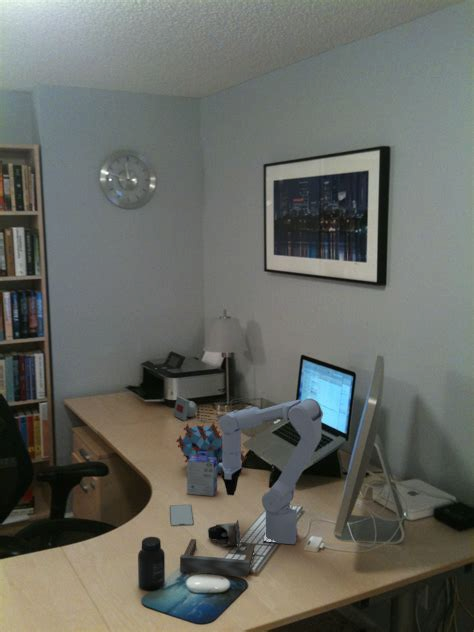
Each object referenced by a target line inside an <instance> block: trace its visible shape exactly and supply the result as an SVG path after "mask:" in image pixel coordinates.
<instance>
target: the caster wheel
mask: <svg viewBox="0 0 474 632" xmlns="http://www.w3.org/2000/svg"><path fill="white" fill-rule="evenodd" d="M207 534H208V539H210V540H215V541H216V542H217V544H218V546H219V547H231V546H237V548H239V547H240V544H241V543H240V541H241V531H240V524H239V519H237V520H236V522H230V523H219V524H215V525H213V526H211V527H209V528H208V529H207ZM241 542H242V541H241Z"/></svg>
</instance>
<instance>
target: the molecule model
mask: <svg viewBox="0 0 474 632" xmlns="http://www.w3.org/2000/svg"><path fill="white" fill-rule="evenodd" d="M185 426H186V427H183V431H185V433H184V437H183V438H182V435H179V438H178V439H176V441H175V442H176V443H178V445H177V448H180V452H182V454H183V455H182V456H183V457H185V458H186V459H185V460H184V463H187V461H188V460H189V458H190V457H191V456H194V457H197V456H198V451H207V452H208V457H212V458H217V475H219V474H220V475H221V473H222V472H224V471H223V469H222V467H219V463H222V435H220V433H221V431H220V430H219V431H218V430H217V429H218V427H219V425H216V426H215V422H212V425H211V426H207V425H204V424H202V425H196V426H194V427H190V426H189V423H186V425H185ZM243 453H245V451H244V450H241V464H245V463H244V462H245V460H246V459H247V458H248V456H244V454H243ZM199 455H203V456H206V454H204V453H201V454H199Z"/></svg>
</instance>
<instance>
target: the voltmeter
mask: <svg viewBox="0 0 474 632" xmlns="http://www.w3.org/2000/svg"><path fill="white" fill-rule="evenodd" d="M199 404H200V407H197V406H198V405H199ZM204 405H205V406H204ZM206 405H208V406H206ZM211 406H220V407H221V406H222V405H221V404H214V403H206V402H205V403H204V402H199V401H196V403H195V401H193V400H189V399H186V398H184V397H182V396H176V401H175V405H174V411H173V417H176V418H178V419H179V420H180V421H181V420H182V421H185V422H187V420H189V418H193V417H194V416H195V414H196V416H197V419H198V420H200V421H201V422H202V423H204V421H206V420H209V421H217V422H219V420H220V419H213V418H211V415H216V416H220V415H221V414H220V413H213V409H211ZM204 408H205V409H204ZM207 408H209V409H207ZM200 410H201V411H200ZM203 411H204V412H203ZM205 411H208V412H205ZM204 414H205V415H204ZM206 414H208V415H206ZM200 416H201V417H200ZM203 417H205V418H203ZM206 417H209V418H206Z"/></svg>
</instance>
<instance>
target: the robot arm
mask: <svg viewBox="0 0 474 632" xmlns="http://www.w3.org/2000/svg"><path fill="white" fill-rule="evenodd" d="M323 415H324V413H323V410H322V408H321V405H320V403H319V402H318V401H317V400H316V399H314V398H306V399H304V400H303V399H297V400H296V399H295V400H291V401H286V402H283V403H282V402H281V403H280V404H276V405H272V406H269V407H266V408H262V409H260V408H259V407H257V406H253V405H248V406H246V407H245V409H240V410H238V409H235V410H233V411H230V412H228V413H225V414H224V415H222V416H221V417H220V419H218V420H219V421H218V427H219V429H220V430H221V432H222V434H221V436H222V463H219V467H222V469H223V471H224V472H222V473H220V477H221V479H222V481H223V483H224V486H225V487H224V488H225V491H226V495H227V496H235V492H236V491H237V487H238V480H239V478H240V476H241V475H240V474H241V472H242V471H243V468H242V460H241V452H242V430H246V429H250V428H254V427H258V426H261V425H262V423H263V422H264V421H265V420H272V419H278V418H283V419H284V420H285V421H286V422H290V424H291V425H292V427H293V428H294V430H295V431H296V432H297V433H298V435H299V436H300V439H299V441H298V443H297V445H296V446H295V449H294V451H293V452H292V454H291V455H290V457H289V459H288V461H287V463H286V464H285V466H284V468H283V469H282V472H281V474H280V475H279V477H278V479H277V480H276V482H274V484H273V485H272V486H271V488H270V489H269V491H267V492H265V493H263V495H262V498H261V504H262V507H263V509H264V510H265V529H266V537H267V538H268V539H271V540H274V541H276V542H277V543H276V544H283V545H284V544H285V545H296V540H297V535H298V528H297V525H298V524H297V522H298V521H297V520H298V518H297V517H298V512H297V511H298V510H297V509H293V508H291V502H292V501H293V499H294V496H295V489H296V488H297V485H296V483H297V482H298V480H299V478H300V477H301V475H302V473H303V472H304V470H305V468H306V466H307V464H308V463H309V460H311V457H312V456H313V454H314V452H315V451H316V449H317V447H318V445H319V444H320V441H321V440H322V419H323Z"/></svg>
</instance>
